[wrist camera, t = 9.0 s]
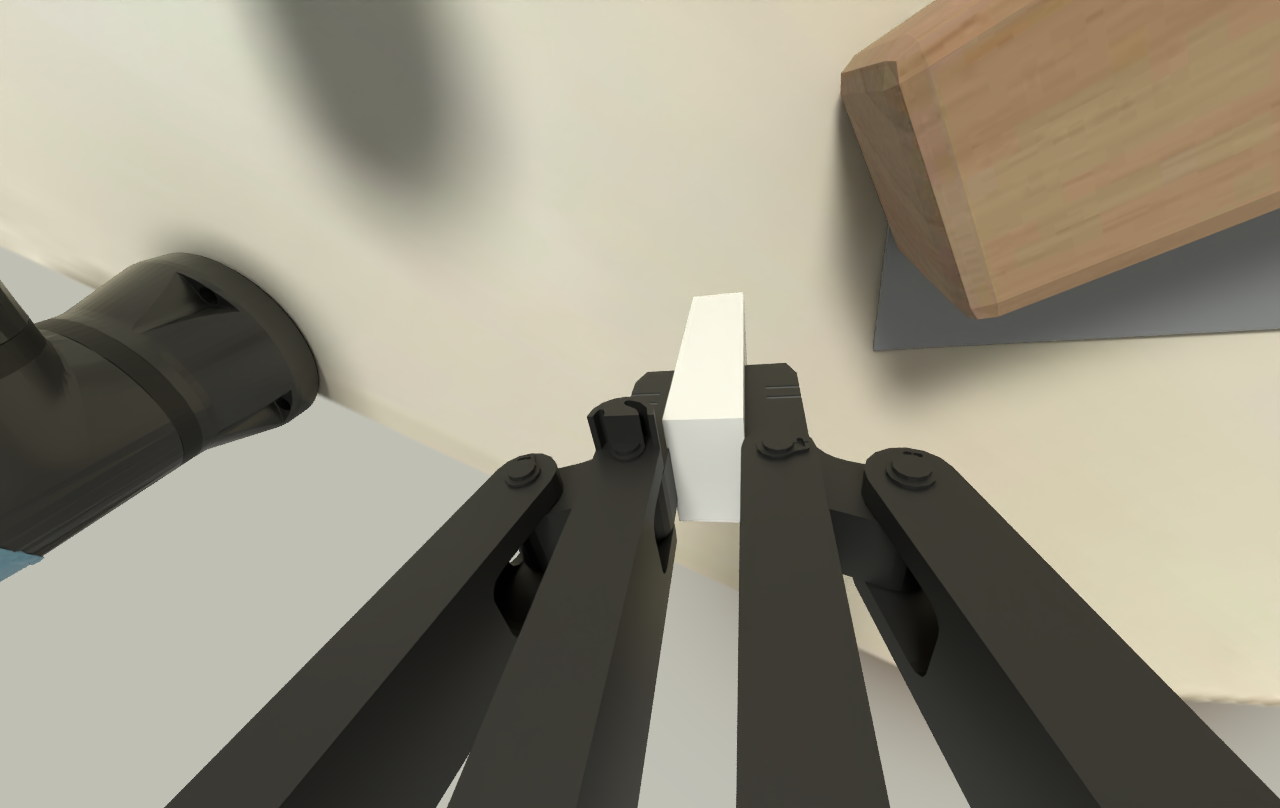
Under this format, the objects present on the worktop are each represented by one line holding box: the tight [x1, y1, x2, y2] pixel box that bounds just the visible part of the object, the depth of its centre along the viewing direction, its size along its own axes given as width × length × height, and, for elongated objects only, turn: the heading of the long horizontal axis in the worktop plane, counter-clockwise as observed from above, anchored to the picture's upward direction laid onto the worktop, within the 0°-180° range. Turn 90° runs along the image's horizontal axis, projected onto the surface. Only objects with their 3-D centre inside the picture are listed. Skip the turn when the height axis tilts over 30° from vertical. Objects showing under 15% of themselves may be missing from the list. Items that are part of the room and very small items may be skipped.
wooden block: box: [841, 0, 1280, 319], centre depth 14 cm, size 10×10×20 cm
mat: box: [873, 208, 1280, 351], centre depth 21 cm, size 20×16×1 cm
